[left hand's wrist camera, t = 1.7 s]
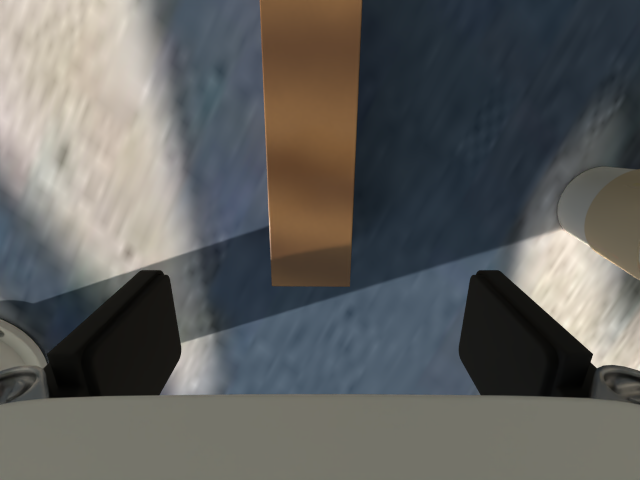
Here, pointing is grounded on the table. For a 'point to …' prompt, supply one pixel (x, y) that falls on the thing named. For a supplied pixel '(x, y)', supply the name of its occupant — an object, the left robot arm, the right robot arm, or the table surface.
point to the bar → (311, 136)
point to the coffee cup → (605, 214)
